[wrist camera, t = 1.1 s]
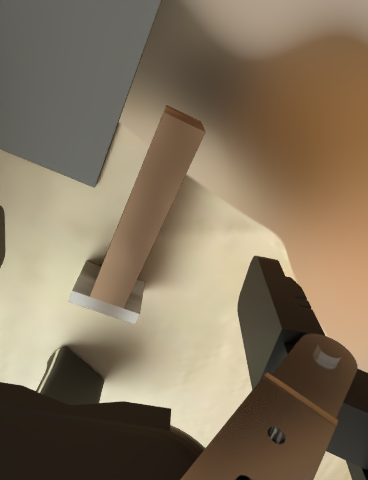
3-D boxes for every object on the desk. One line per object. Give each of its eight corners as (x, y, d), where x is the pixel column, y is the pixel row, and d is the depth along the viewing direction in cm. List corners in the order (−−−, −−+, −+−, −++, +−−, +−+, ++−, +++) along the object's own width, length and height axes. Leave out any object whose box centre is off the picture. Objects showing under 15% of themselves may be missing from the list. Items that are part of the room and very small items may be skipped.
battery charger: (39, 358, 39) (-10, 462, 29) (64, 342, 38) (22, 444, 28) (83, 393, 42) (52, 500, 31) (107, 379, 41) (83, 485, 30)
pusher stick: (82, 270, 34) (67, 301, 30) (148, 96, 27) (142, 102, 23) (140, 291, 35) (134, 324, 31) (217, 129, 28) (225, 141, 24)
